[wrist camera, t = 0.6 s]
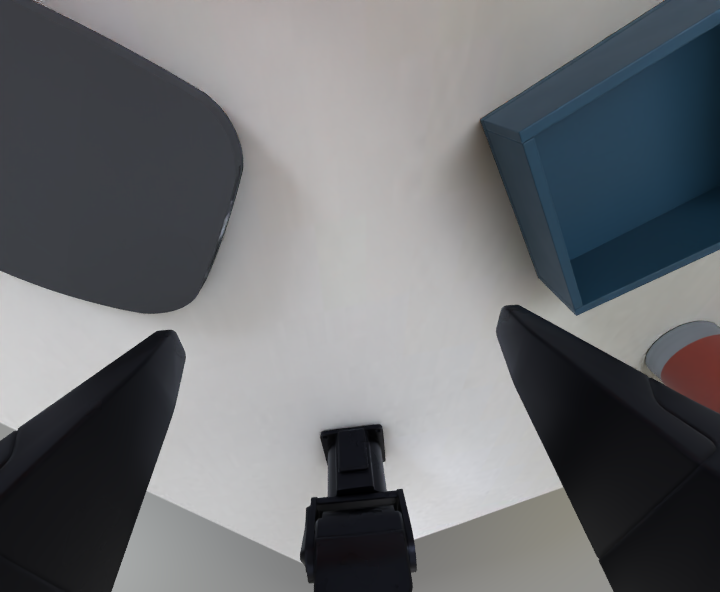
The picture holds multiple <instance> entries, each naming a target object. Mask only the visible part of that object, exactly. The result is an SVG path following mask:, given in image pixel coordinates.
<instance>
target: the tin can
mask: <svg viewBox="0 0 720 592" xmlns="http://www.w3.org/2000/svg"><path fill="white" fill-rule="evenodd" d="M646 365H647V367H648V368H649V369H650V370H651V371H652V372H653V373H654V374H655V375H656V376H657V377H658V378H659V379H660V380H661V381H662V382H663V383H664V384H665V385H666V386H667V387H669V388H671V389H673V390H675V391H676V392H678V393H680V394H682V395H684V396H686V397H688V398H690V399H692V400H693V401H695V402H697V403H699V404H701V405H703V406H705V407H707V408H709V409H711V410H713V411H715V412H717V413H719V414H720V327H719V326H717V325H716V324H714V323H712V322H708V321H695V322H691V323H687V324H684V325H681V326H679V327H677V328H675V329H673V330H671V331H669V332H668V333H666V334H665V335H663V336H662V337H661V338H659V339H658V340H657V341H656V342H655V343H654V344H653V345H652V347H651V348H650V349H649V351H648V353H647V355H646Z"/></svg>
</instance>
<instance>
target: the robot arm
mask: <svg viewBox="0 0 720 592" xmlns="http://www.w3.org/2000/svg"><path fill="white" fill-rule="evenodd" d="M496 334H497V338H498V341H499V344H500V346H501V349H502V352H503V355H504V358H505V361H506V364H507V367H508V369H509V372H510V375H511V378H512V380H513V383H514V385H515V387H516V390H517V392H518V394H519V396H520V398H521V400H522V402H523V404H524V406H525V408H526V410H527V412H528V415H529V417H530V419H531V421H532V423H533V425H534V427H535V429H536V431H537V433H538V435H539V437H540V439H541V441H542V444H543V446H544V448H545V450H546V452H547V454H548V456H549V458H550V460H551V462H552V464H553V466H554V468H555V471H556V473H557V475H558V477H559V479H560V481H561V483H562V485H563V487H564V489H565V491H566V493H567V495H568V497H569V499H570V501H571V504H572V506H573V508H574V510H575V512H576V514H577V516H578V518H579V520H580V522H581V524H582V526H583V528H584V531H585V533H586V535H587V537H588V539H589V541H590V543H591V545H592V547H593V549H594V551H595V553H596V555H597V557H598V558H599V562H600V564H601V566H602V568H603V571H604V572H605V574H606V577H607V579H608V581H609V583H610V585H611V587H612V589H613V591H614V592H720V414H719V413H717V412H715V411H713V410H711V409H709V408H707V407H705V406H703V405H701V404H699V403H697V402H695V401H693V400H692V399H690V398H688V397H686V396H684V395H682V394H680V393H678V392H676V391H675V390H673V389H671V388H669V387H667V386H665V385H664V384H662V383H660V382H658V381H656V380H655V379H653V378H648V376H647V375H645V374H643V373H642V372H640V371H638V370H636V369H634V368H633V367H631V366H629V365H627V364H625V363H623V362H622V361H620V360H618V359H616V358H614V357H613V356H611V355H609V354H607V353H605V352H603V351H602V350H600V349H598V348H596V347H594V346H593V345H591V344H589V343H587V342H585V341H583V340H582V339H580V338H578V337H576V336H574V335H573V334H571V333H569V332H567V331H565V330H563V329H562V328H560V327H558V326H556V325H554V324H553V323H551V322H549V321H547V320H545V319H543V318H542V317H540V316H538V315H536V314H534V313H533V312H531V311H529V310H527V309H525V308H523V307H522V306H520V305H507V306H504V307H503V308H502V309H501V313H500V316H499V320H498V324H497V328H496ZM185 359H186V354H185V351H184V348H183V346H182V344H181V342H180V340H179V338H178V335H177V334H176V332H175V331H173V330H161V331H156V332H155V333H153V334H152V335H150V336H149V337H148V338H146V339H145V340H143V341H142V342H140V343H139V344H138V345H136V346H135V347H133V348H132V349H131V350H129V351H128V352H126V353H125V354H123V355H122V356H121V357H119V358H118V359H116V360H115V361H113V362H112V363H111V364H109V365H108V366H106V367H105V368H103V369H102V370H101V371H99V372H98V373H96V374H95V375H93V376H92V377H91V378H89V379H88V380H86V381H85V382H83V383H82V384H81V385H79V386H78V387H76V388H75V389H73V390H72V391H71V392H69V393H68V394H66V395H65V396H63V397H62V398H61V399H59V400H58V401H56V402H55V403H53V404H52V405H51V406H49V407H48V408H46V409H45V410H43V411H42V412H41V413H39V414H38V415H36V416H35V417H33V418H32V419H31V420H29V421H28V422H26V423H25V424H24V425H22V426H21V427H19V428H18V431H13V432H12V433H11V434H9V435H8V436H7V437H5V438H3V439H2V440H1V441H0V592H111V591H112V588H113V585H114V582H115V579H116V577H117V574H118V571H119V568H120V565H121V562H122V559H123V557H124V553H125V551H126V548H127V545H128V542H129V539H130V536H131V533H132V531H133V528H134V525H135V522H136V519H137V516H138V513H139V510H140V508H141V505H142V502H143V499H144V496H145V493H146V490H147V487H148V485H149V482H150V479H151V476H152V473H153V470H154V467H155V464H156V462H157V459H158V456H159V453H160V450H161V447H162V444H163V441H164V439H165V436H166V433H167V430H168V427H169V424H170V421H171V418H172V415H173V412H174V409H175V405H176V400H177V396H178V391H179V387H180V382H181V378H182V373H183V369H184V364H185ZM320 438H321V442H322V446H323V449H324V453H325V457H326V461H327V465H328V497H323V498H317V497H312V498H311V505H310V506H309V507H307V508H306V522H305V531H304V536H303V541H302V547H301V552H300V560H301V562H302V563H303V564H304V565H305V567H306V572H307V577H308V582H309V583H314V592H412V588H413V586H412V577H411V572H416V569H417V567H416V566H417V564H416V553H415V545H414V538H413V532H412V528H411V523H410V519H409V515H408V510H407V506H406V502H405V497H404V493H403V489H397V490H396V491H387V490H386V482H385V475H384V468H383V462H384V461H385V449H384V438H383V428H382V426H381V425H369V426H361V427H353V428H345V429H337V430H329V431H323V432H321V437H320Z"/></svg>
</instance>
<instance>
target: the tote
mask: <svg viewBox="0 0 720 592" xmlns="http://www.w3.org/2000/svg"><path fill="white" fill-rule="evenodd" d="M480 121H481V124H482V126H483V129H484V132H485V135H486V137H487V140H488V143H489V145H490V148H491V151H492V153H493V156H494V159H495V162H496V164H497V167H498V170H499V172H500V175H501V178H502V181H503V183H504V186H505V189H506V191H507V194H508V197H509V200H510V202H511V205H512V208H513V210H514V213H515V216H516V219H517V221H518V224H519V227H520V229H521V232H522V235H523V238H524V240H525V243H526V246H527V248H528V251H529V254H530V257H531V259H532V262H533V265H534V267H535V270H536V273H537V276H538V278H539V279H540V280H541V281H542V282H543V283H544V284H545V285H546V286H547V287H548V288H549V289H550V290H551V291H552V292H553V293H554V294H555V295H556V296H557V297H558V298H559V299H560V300H561V301H562V302H563V303H564V304H565V305H566V306H567V307H568V308H569V309H570V310H571V311H572V312H573V313H574V314H575V315H576V316H577V315H579V314H581V313H583V312H586V311H588V310H590V309H592V308H594V307H596V306H599V305H601V304H603V303H605V302H607V301H609V300H612V299H614V298H616V297H618V296H620V295H622V294H625V293H627V292H629V291H631V290H633V289H635V288H638V287H640V286H642V285H644V284H646V283H648V282H651V281H653V280H655V279H657V278H659V277H661V276H664V275H666V274H668V273H670V272H672V271H674V270H677V269H679V268H681V267H683V266H685V265H687V264H690V263H692V262H694V261H696V260H698V259H700V258H703V257H705V256H707V255H709V254H711V253H713V252H716V251H718V250H720V0H665V1H663V2H662V3H660V4H659V5H657V6H656V7H654V8H652V9H651V10H649V11H648V12H646V13H645V14H643V15H642V16H640V17H638V18H637V19H635V20H634V21H632V22H631V23H629V24H628V25H626V26H625V27H623V28H621V29H620V30H618V31H617V32H615V33H614V34H612V35H611V36H609V37H607V38H606V39H604V40H603V41H601V42H600V43H598V44H597V45H595V46H593V47H592V48H590V49H589V50H587V51H586V52H584V53H583V54H581V55H579V56H578V57H576V58H575V59H573V60H572V61H570V62H569V63H567V64H565V65H564V66H562V67H561V68H559V69H558V70H556V71H555V72H553V73H551V74H550V75H548V76H547V77H545V78H544V79H542V80H541V81H539V82H538V83H536V84H534V85H533V86H531V87H530V88H528V89H527V90H525V91H524V92H522V93H520V94H519V95H517V96H516V97H514V98H513V99H511V100H510V101H508V102H506V103H505V104H503V105H502V106H500V107H499V108H497V109H496V110H494V111H492V112H491V113H489V114H488V115H486V116H485V117H483V118H482V119H480Z"/></svg>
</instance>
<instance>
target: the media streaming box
mask: <svg viewBox="0 0 720 592" xmlns="http://www.w3.org/2000/svg"><path fill="white" fill-rule="evenodd" d="M242 171H243V155H242V149H241V145H240V141H239V138H238V136H237V133H236V131H235V129H234V127H233V125H232V123H231V122H230V120H229V119H228V117H227V116H226V114H225V113H224V112H223V110H222V109H221V108H220V107H219V106H218V105H217V104H216V103H215V102H214V101H213V100H212V99H211V98H210V97H209V96H208V95H207V94H205V93H204V92H202V91H200V90H199V89H197V88H195V87H194V86H192V85H190V84H189V83H187V82H185V81H184V80H182V79H180V78H178V77H177V76H175V75H173V74H172V73H170V72H168V71H166V70H165V69H163V68H161V67H159V66H158V65H156V64H154V63H152V62H151V61H149V60H147V59H145V58H143V57H142V56H140V55H138V54H136V53H134V52H132V51H131V50H129V49H127V48H125V47H123V46H121V45H119V44H118V43H116V42H114V41H112V40H110V39H108V38H106V37H104V36H102V35H101V34H99V33H97V32H95V31H93V30H91V29H89V28H87V27H85V26H83V25H81V24H79V23H77V22H75V21H73V20H71V19H69V18H67V17H65V16H63V15H61V14H59V13H57V12H55V11H53V10H51V9H49V8H47V7H45V6H42V5H40V4H38V3H36V2H34V1H32V0H0V271H2V272H5V273H7V274H10V275H12V276H14V277H17V278H19V279H22V280H25V281H27V282H30V283H33V284H35V285H38V286H41V287H44V288H46V289H49V290H52V291H55V292H59V293H62V294H65V295H68V296H71V297H75V298H78V299H82V300H85V301H89V302H93V303H97V304H101V305H105V306H109V307H113V308H118V309H123V310H128V311H133V312H138V313H148V314H155V313H165V312H171V311H174V310H177V309H180V308H182V307H184V306H186V305H188V304H189V303H191V302H192V301H193V300H194V299H195V298H196V296H197V295H198V293H199V291H200V289H201V288H202V286H203V284H204V283H205V281H206V279H207V276H208V274H209V272H210V269H211V267H212V265H213V262H214V260H215V257H216V254H217V252H218V249H219V247H220V244H221V241H222V238H223V235H224V232H225V230H226V227H227V223H228V220H229V217H230V214H231V211H232V208H233V204H234V201H235V197H236V194H237V190H238V187H239V183H240V179H241V175H242Z"/></svg>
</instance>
